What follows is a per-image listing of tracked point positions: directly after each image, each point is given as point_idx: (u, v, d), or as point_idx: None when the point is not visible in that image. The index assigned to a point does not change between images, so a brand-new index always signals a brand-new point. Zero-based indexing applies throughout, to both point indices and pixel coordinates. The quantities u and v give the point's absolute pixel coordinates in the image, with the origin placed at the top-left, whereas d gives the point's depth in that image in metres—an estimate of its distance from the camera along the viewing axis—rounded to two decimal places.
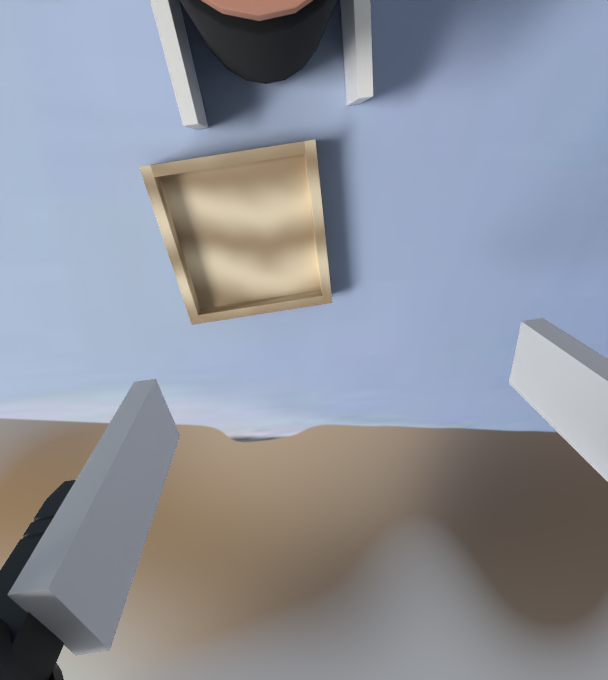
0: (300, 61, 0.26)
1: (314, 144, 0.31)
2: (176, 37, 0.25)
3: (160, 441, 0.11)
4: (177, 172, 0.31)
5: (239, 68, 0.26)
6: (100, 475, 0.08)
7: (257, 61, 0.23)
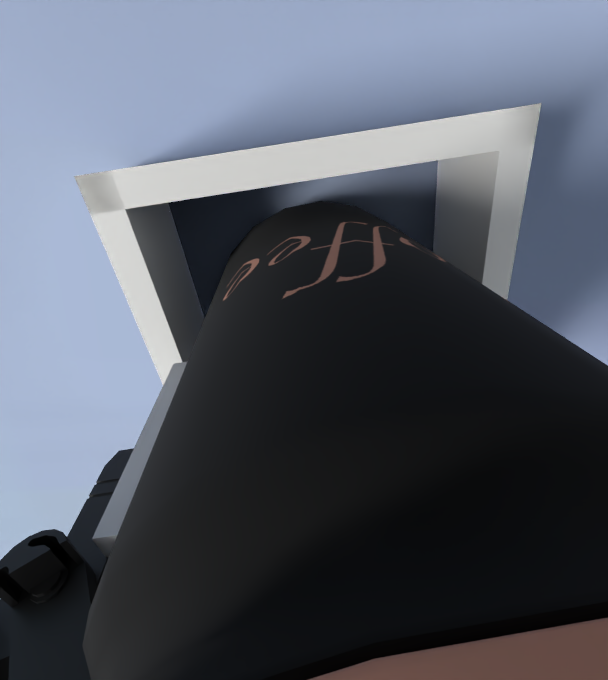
0: None
1: None
2: None
3: None
4: None
5: None
6: None
7: None
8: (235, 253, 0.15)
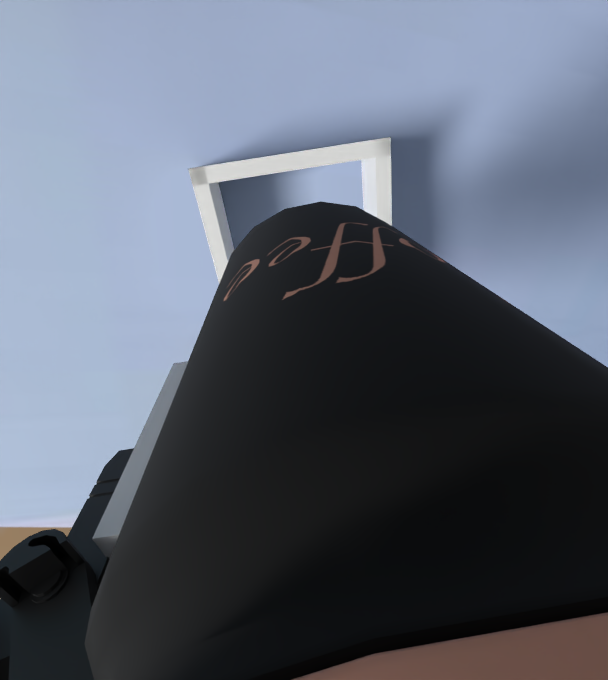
0: None
1: None
2: None
3: None
4: None
5: None
6: None
7: None
8: (235, 253, 0.15)
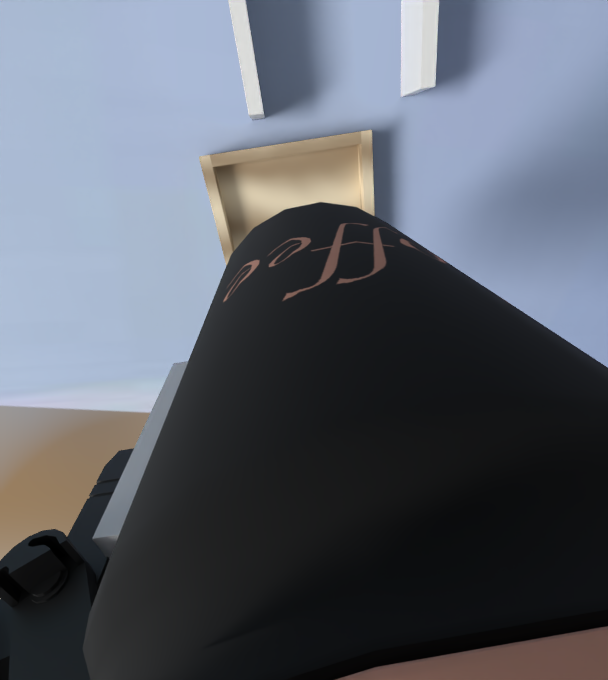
0: None
1: (370, 134, 0.31)
2: (248, 27, 0.25)
3: None
4: (235, 162, 0.32)
5: None
6: None
7: None
8: (235, 254, 0.15)
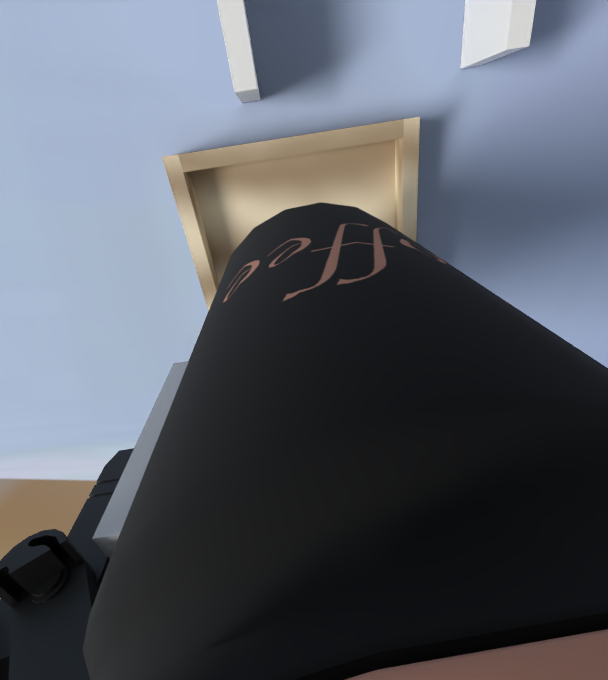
0: None
1: (417, 124, 0.21)
2: None
3: None
4: (217, 165, 0.21)
5: None
6: None
7: None
8: (235, 254, 0.15)
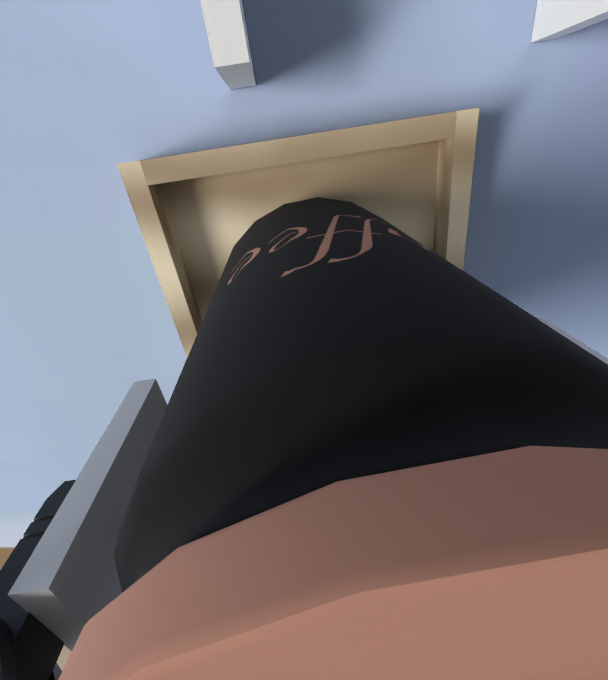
0: None
1: (475, 118, 0.15)
2: None
3: None
4: (195, 175, 0.15)
5: None
6: (100, 475, 0.08)
7: None
8: (237, 245, 0.16)
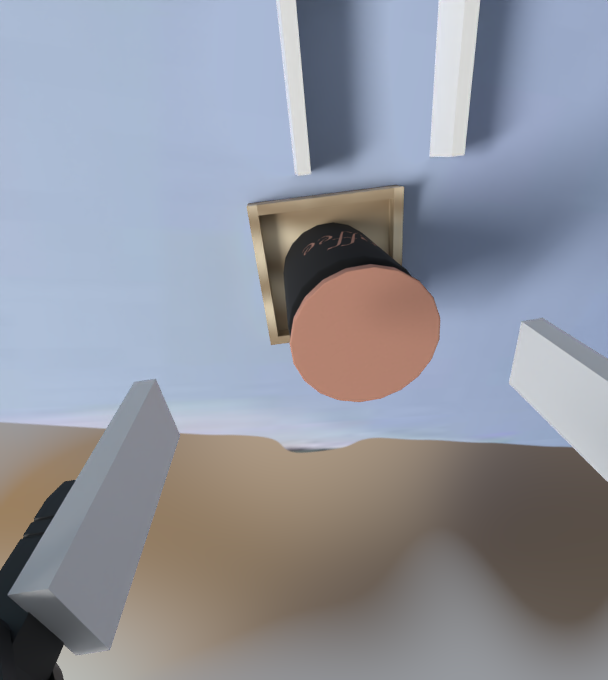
0: None
1: (402, 191, 0.35)
2: (304, 103, 0.29)
3: (160, 441, 0.11)
4: (279, 212, 0.35)
5: None
6: (100, 475, 0.08)
7: None
8: (296, 243, 0.35)
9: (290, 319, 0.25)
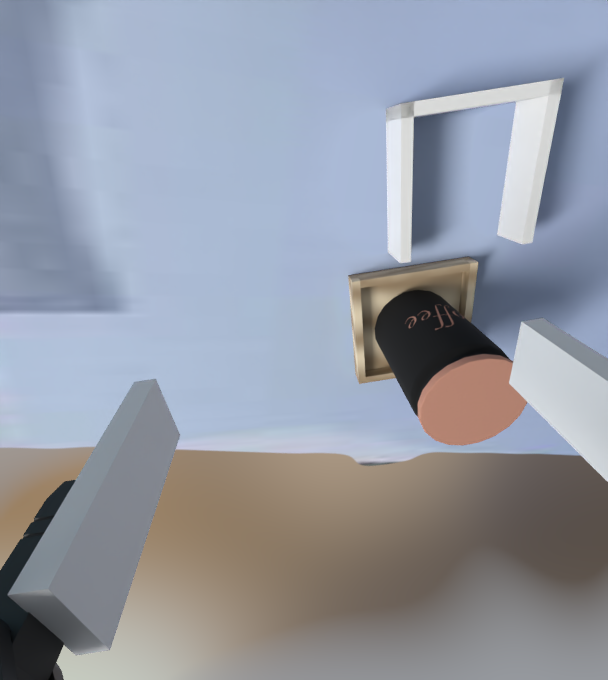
0: None
1: (476, 265, 0.43)
2: (411, 213, 0.37)
3: (160, 441, 0.11)
4: (377, 284, 0.43)
5: None
6: (100, 475, 0.08)
7: None
8: (391, 309, 0.44)
9: (413, 386, 0.34)
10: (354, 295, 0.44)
